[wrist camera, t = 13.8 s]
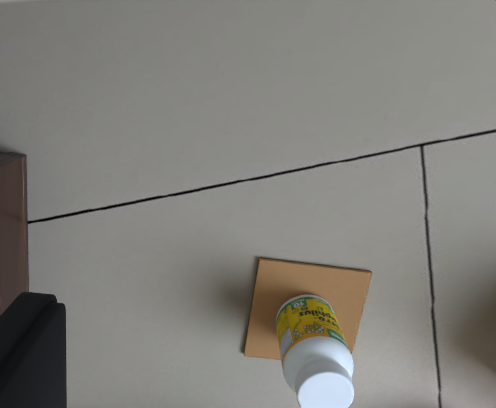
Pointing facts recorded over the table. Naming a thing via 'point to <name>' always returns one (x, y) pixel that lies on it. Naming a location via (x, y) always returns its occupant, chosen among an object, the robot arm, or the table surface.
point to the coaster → (299, 283)
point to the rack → (13, 228)
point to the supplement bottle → (314, 353)
